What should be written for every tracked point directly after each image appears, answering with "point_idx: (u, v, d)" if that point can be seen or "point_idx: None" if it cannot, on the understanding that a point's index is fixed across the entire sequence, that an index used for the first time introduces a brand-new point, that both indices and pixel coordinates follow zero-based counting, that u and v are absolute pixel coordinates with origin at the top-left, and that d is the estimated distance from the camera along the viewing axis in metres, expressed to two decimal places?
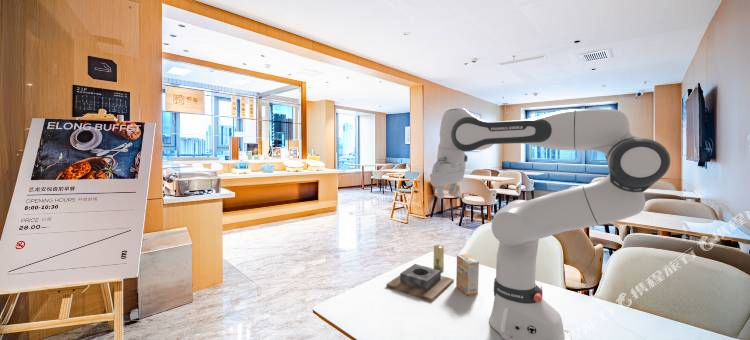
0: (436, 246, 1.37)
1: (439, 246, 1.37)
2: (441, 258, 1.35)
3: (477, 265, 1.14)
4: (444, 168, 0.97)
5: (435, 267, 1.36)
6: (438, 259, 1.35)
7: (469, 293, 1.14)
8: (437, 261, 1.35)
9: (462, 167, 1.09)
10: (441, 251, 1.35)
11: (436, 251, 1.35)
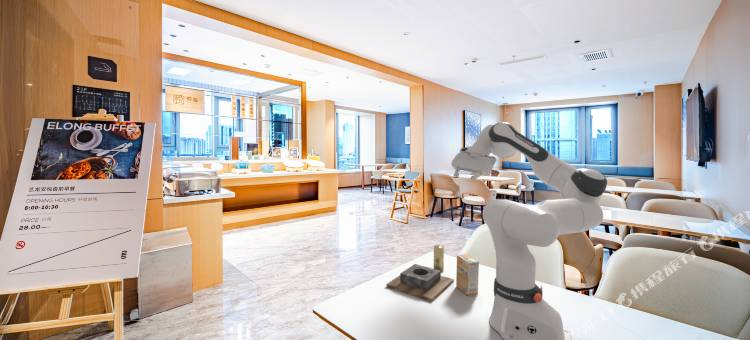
0: (436, 246, 1.37)
1: (439, 246, 1.37)
2: (441, 258, 1.35)
3: (477, 265, 1.14)
4: None
5: (435, 267, 1.36)
6: (438, 259, 1.35)
7: (469, 293, 1.14)
8: (437, 261, 1.35)
9: None
10: (441, 251, 1.35)
11: (436, 251, 1.35)
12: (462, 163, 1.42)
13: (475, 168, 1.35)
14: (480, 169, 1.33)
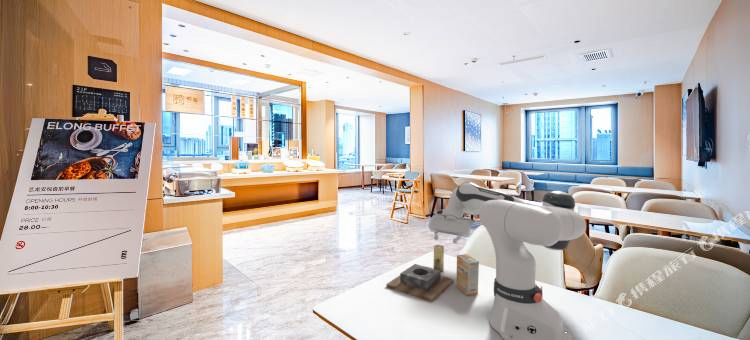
0: (436, 246, 1.37)
1: (439, 246, 1.37)
2: (441, 258, 1.35)
3: (477, 265, 1.14)
4: None
5: (435, 267, 1.36)
6: (438, 259, 1.35)
7: (469, 293, 1.14)
8: (437, 261, 1.35)
9: None
10: (441, 251, 1.35)
11: (436, 251, 1.35)
12: (441, 226, 1.47)
13: (455, 231, 1.42)
14: (461, 232, 1.40)
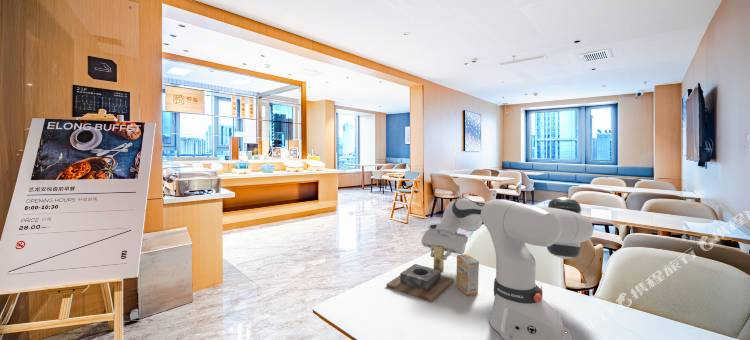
0: (436, 246, 1.37)
1: (439, 246, 1.37)
2: (441, 258, 1.35)
3: (477, 265, 1.14)
4: None
5: (435, 267, 1.36)
6: (438, 259, 1.35)
7: (469, 293, 1.14)
8: (437, 261, 1.35)
9: None
10: (441, 251, 1.35)
11: (436, 251, 1.35)
12: (434, 241, 1.41)
13: (449, 247, 1.35)
14: (455, 249, 1.34)
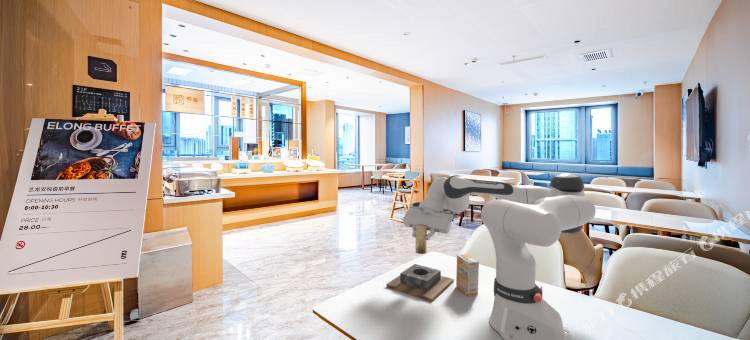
0: (418, 225, 1.22)
1: (422, 225, 1.22)
2: (423, 238, 1.20)
3: (477, 265, 1.14)
4: None
5: (417, 248, 1.21)
6: (420, 239, 1.20)
7: (469, 293, 1.14)
8: (419, 241, 1.21)
9: None
10: (423, 230, 1.20)
11: (418, 230, 1.21)
12: (416, 220, 1.26)
13: (433, 226, 1.21)
14: (439, 227, 1.19)
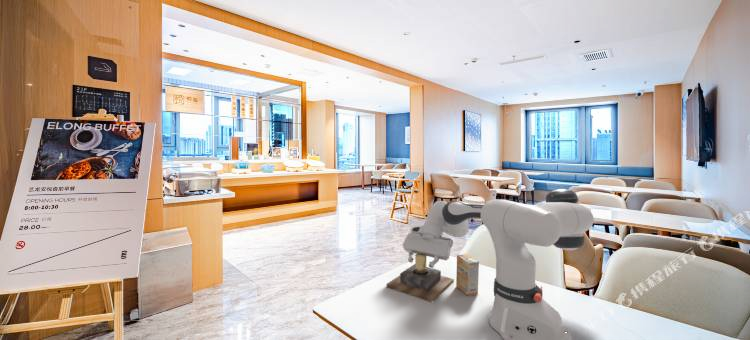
0: (418, 255, 1.23)
1: (421, 255, 1.23)
2: (423, 268, 1.21)
3: (477, 265, 1.14)
4: None
5: None
6: (420, 269, 1.21)
7: (469, 293, 1.14)
8: (419, 272, 1.21)
9: None
10: (423, 260, 1.21)
11: (417, 260, 1.21)
12: (416, 246, 1.27)
13: (432, 253, 1.22)
14: (438, 254, 1.20)
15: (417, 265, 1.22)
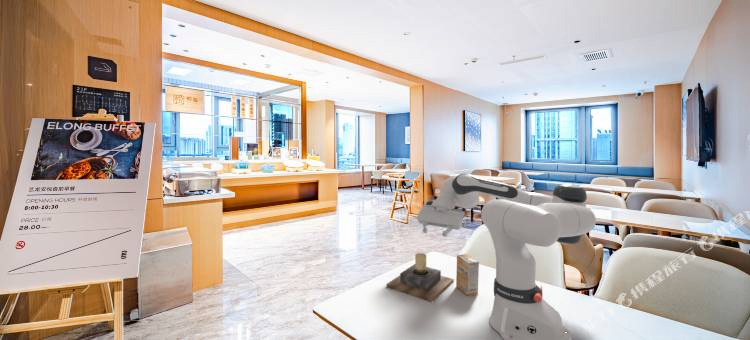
0: (418, 254, 1.23)
1: (421, 254, 1.23)
2: (423, 268, 1.21)
3: (477, 265, 1.14)
4: None
5: None
6: (420, 269, 1.21)
7: (469, 293, 1.14)
8: (419, 271, 1.21)
9: None
10: (423, 260, 1.21)
11: (417, 260, 1.21)
12: (430, 218, 1.36)
13: (445, 223, 1.31)
14: (451, 224, 1.29)
15: (417, 265, 1.22)
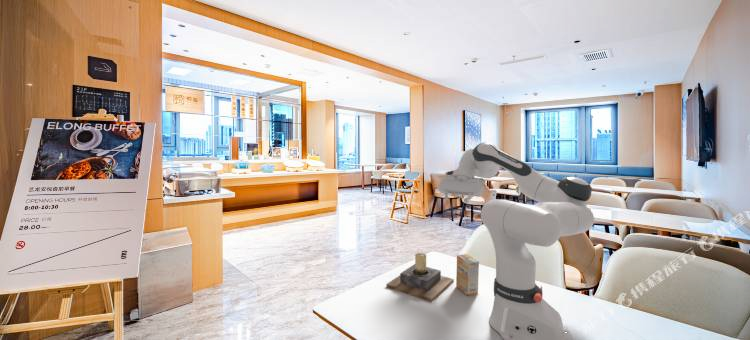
0: (418, 254, 1.23)
1: (421, 254, 1.23)
2: (423, 268, 1.21)
3: (477, 265, 1.14)
4: None
5: None
6: (420, 269, 1.21)
7: (469, 293, 1.14)
8: (419, 271, 1.21)
9: None
10: (423, 260, 1.21)
11: (417, 260, 1.21)
12: (451, 186, 1.41)
13: (467, 190, 1.36)
14: (473, 191, 1.34)
15: (417, 265, 1.22)
